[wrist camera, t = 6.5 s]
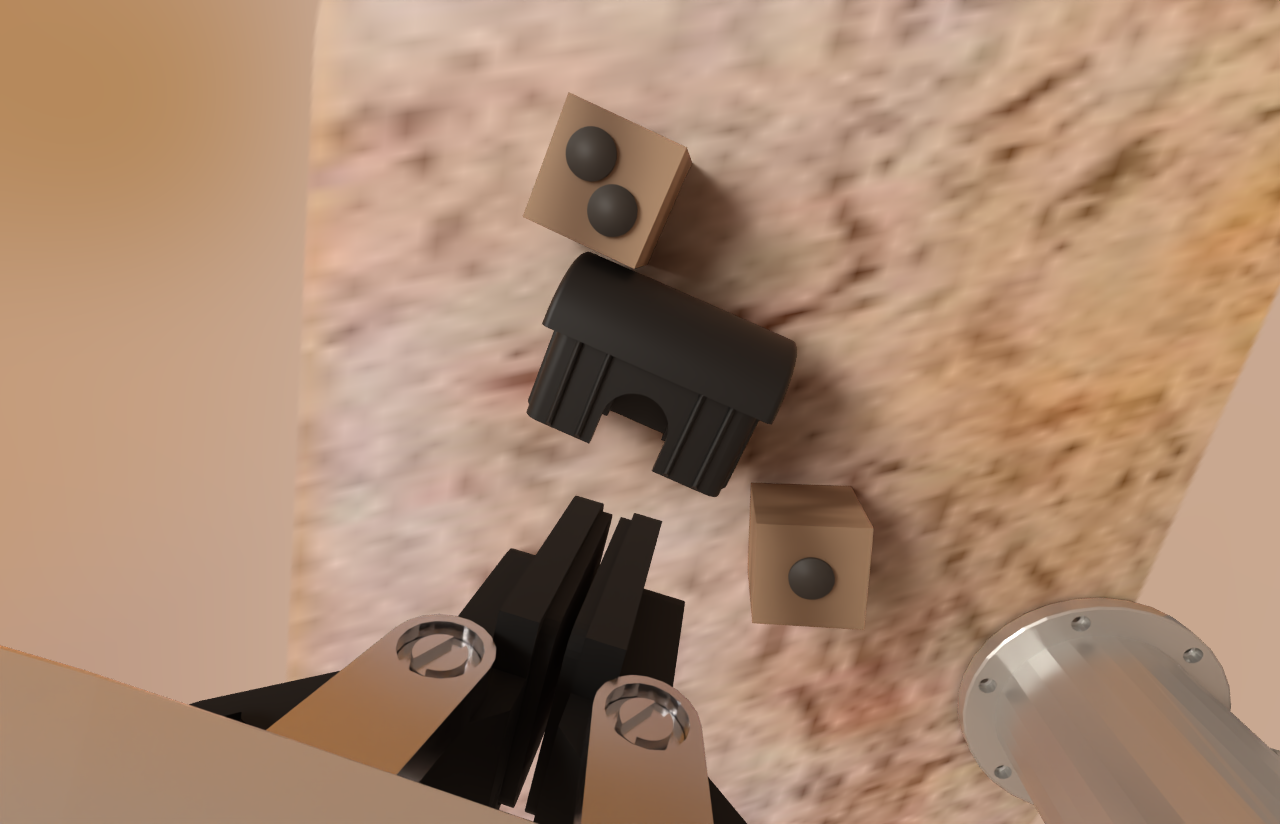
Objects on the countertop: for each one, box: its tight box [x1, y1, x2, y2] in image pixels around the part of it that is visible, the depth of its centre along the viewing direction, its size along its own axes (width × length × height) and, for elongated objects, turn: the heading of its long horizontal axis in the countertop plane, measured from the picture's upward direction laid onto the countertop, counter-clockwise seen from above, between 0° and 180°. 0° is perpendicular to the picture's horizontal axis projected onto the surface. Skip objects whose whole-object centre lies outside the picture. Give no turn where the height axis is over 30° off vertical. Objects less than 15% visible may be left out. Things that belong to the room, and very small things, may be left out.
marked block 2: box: [748, 483, 874, 630], centre depth 31 cm, size 5×5×5 cm
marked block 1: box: [523, 93, 692, 269], centre depth 27 cm, size 5×5×5 cm
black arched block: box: [527, 252, 797, 497], centre depth 28 cm, size 10×7×7 cm
